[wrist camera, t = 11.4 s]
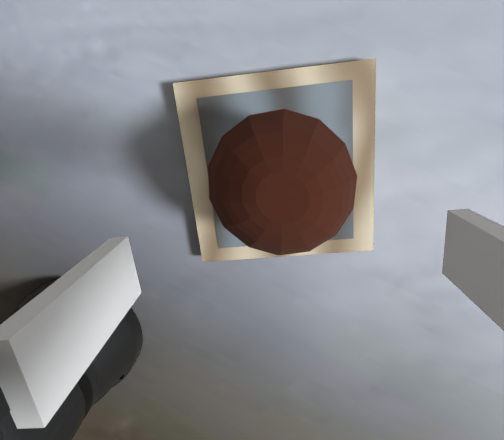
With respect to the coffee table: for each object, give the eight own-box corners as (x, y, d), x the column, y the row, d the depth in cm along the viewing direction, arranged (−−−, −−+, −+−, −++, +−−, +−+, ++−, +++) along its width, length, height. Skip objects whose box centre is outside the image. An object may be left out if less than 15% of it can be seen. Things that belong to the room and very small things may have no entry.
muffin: (365, 169, 31) (406, 195, 21) (286, 249, 34) (291, 302, 24) (271, 82, 29) (270, 67, 19) (197, 175, 32) (165, 202, 22)
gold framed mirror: (205, 256, 36) (202, 262, 35) (177, 84, 31) (172, 82, 29) (369, 244, 35) (373, 250, 33) (370, 60, 29) (376, 58, 28)
